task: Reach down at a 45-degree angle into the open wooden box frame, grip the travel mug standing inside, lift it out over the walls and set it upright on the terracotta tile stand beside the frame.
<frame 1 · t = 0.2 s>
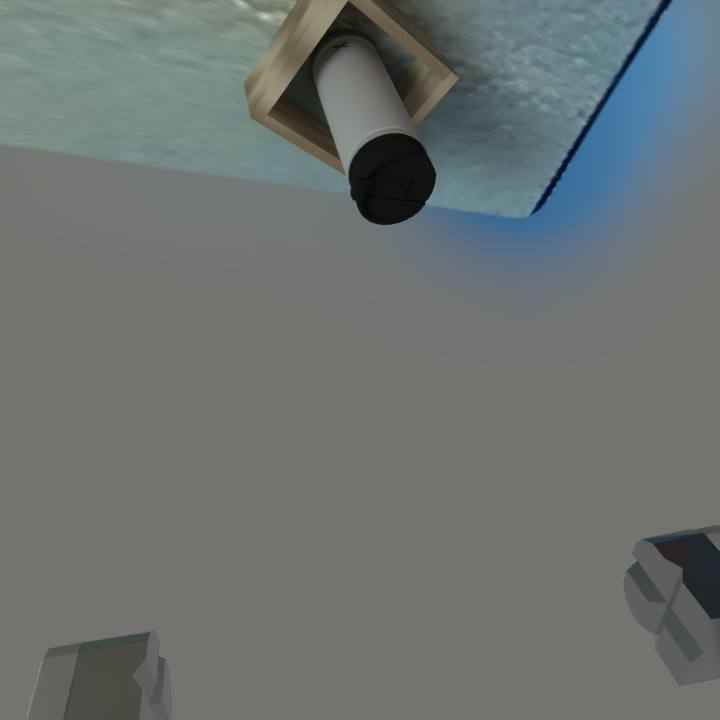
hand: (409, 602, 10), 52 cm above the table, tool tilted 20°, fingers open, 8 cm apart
travel mug: (342, 63, 55), resting in open wooden box frame
open wooden box frame: (342, 64, 55), on the table
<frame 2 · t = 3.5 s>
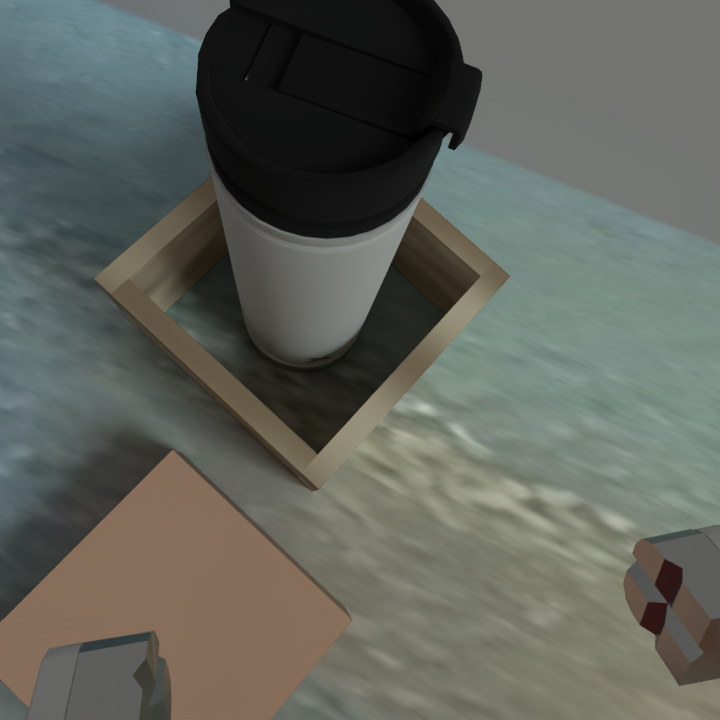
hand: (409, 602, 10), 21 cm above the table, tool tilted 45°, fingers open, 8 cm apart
tile stand: (181, 620, 28), on the table
travel mug: (306, 318, 33), resting in open wooden box frame
open wooden box frame: (306, 316, 32), on the table
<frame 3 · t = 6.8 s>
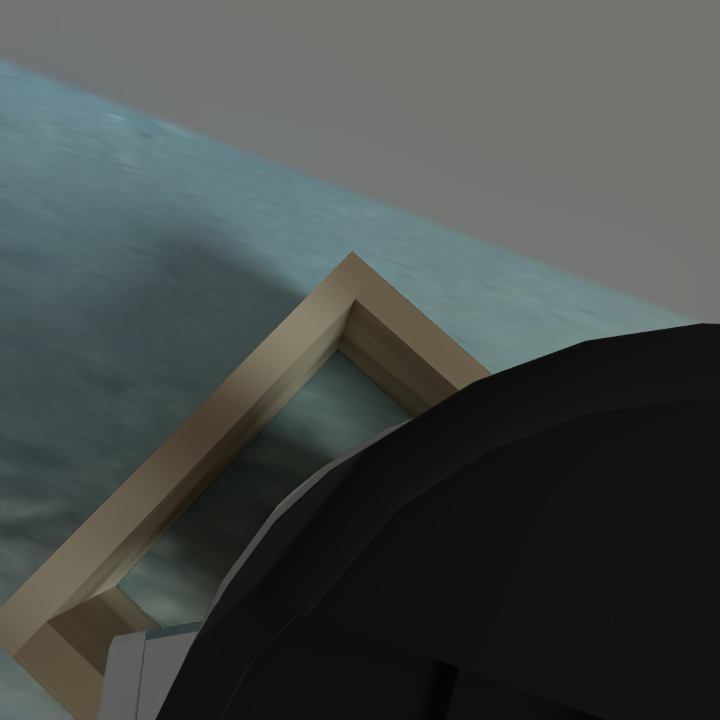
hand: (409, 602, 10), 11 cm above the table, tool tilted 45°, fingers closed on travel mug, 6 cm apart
travel mug: (348, 566, 21), resting in open wooden box frame, touching gripper
open wooden box frame: (349, 566, 21), on the table
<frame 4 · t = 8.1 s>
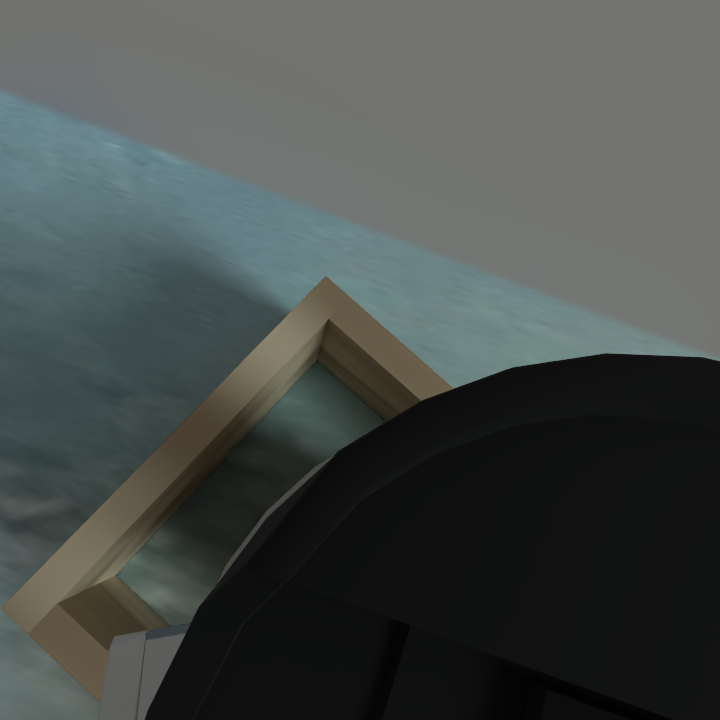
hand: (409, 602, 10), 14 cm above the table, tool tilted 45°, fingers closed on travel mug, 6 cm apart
travel mug: (350, 564, 22), point 1 cm above the table, touching gripper
open wooden box frame: (327, 557, 23), on the table
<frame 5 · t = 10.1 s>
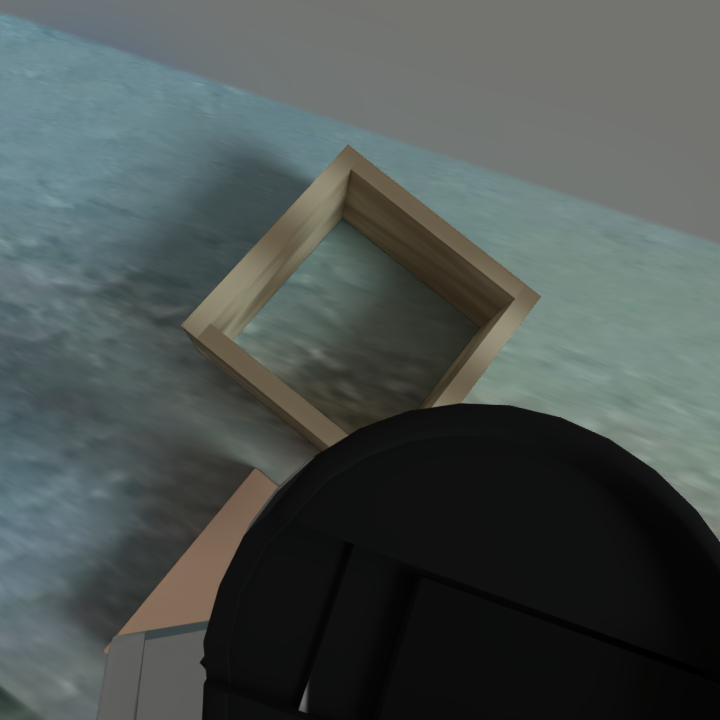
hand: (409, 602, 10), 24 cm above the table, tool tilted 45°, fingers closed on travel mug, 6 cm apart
tile stand: (270, 614, 33), on the table
travel mug: (340, 544, 25), point 9 cm above the table, touching gripper
open wooden box frame: (355, 338, 36), on the table
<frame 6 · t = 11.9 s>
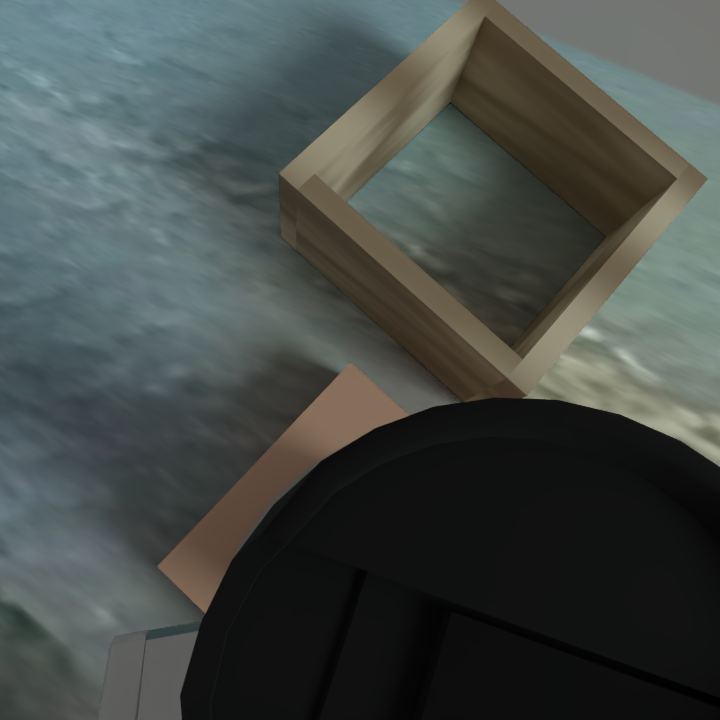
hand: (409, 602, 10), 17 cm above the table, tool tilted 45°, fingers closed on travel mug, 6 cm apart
tile stand: (352, 547, 27), on the table
travel mug: (342, 554, 24), point 3 cm above the table, touching gripper, tile stand
open wooden box frame: (462, 236, 31), on the table
when the fingers open (16 cm above the table, at t = 13.2 s): travel mug stays where it is, resting on tile stand.
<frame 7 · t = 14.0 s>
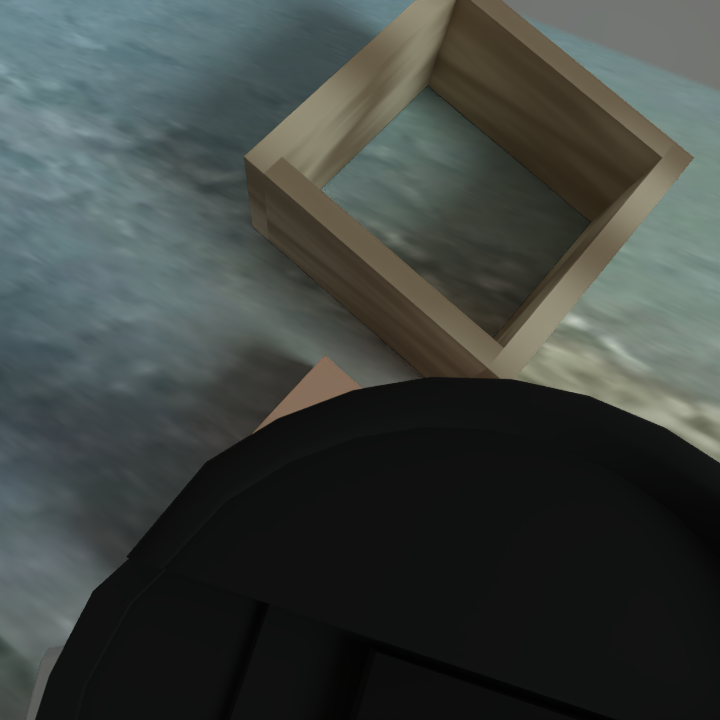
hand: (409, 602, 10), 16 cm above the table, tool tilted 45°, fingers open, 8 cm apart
tile stand: (330, 549, 26), on the table
travel mug: (318, 556, 23), point 3 cm above the table, touching gripper, tile stand
open wooden box frame: (442, 224, 30), on the table
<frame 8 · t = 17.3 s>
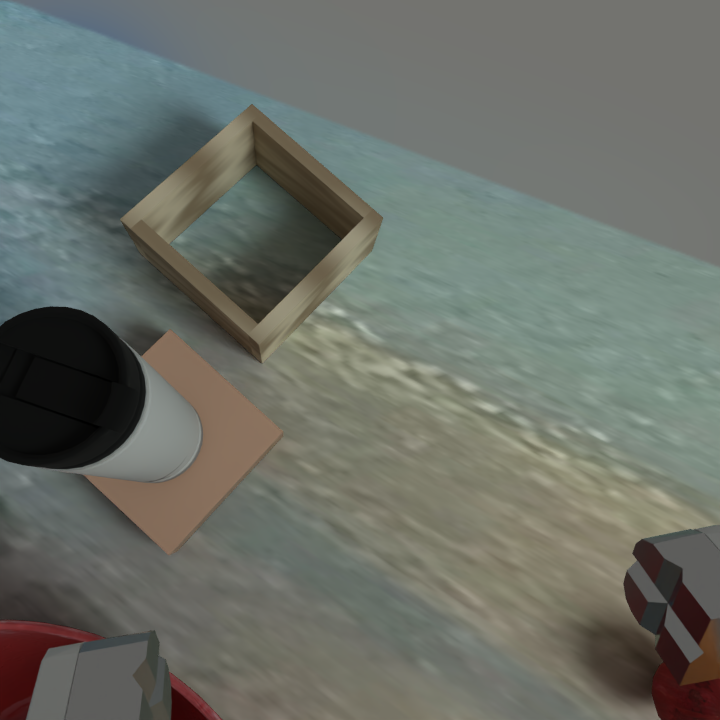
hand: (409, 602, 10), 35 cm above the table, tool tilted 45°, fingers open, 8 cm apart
onion: (665, 682, 45), on the table
tile stand: (177, 441, 44), on the table
travel mug: (160, 438, 42), point 3 cm above the table, touching tile stand
open wooden box frame: (259, 252, 48), on the table
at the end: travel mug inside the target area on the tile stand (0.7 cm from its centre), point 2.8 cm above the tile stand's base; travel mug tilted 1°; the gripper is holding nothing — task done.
